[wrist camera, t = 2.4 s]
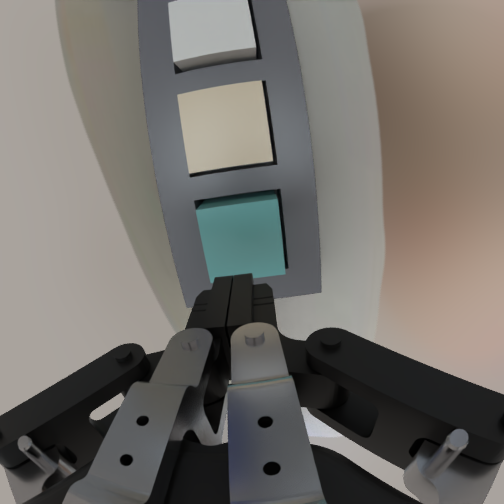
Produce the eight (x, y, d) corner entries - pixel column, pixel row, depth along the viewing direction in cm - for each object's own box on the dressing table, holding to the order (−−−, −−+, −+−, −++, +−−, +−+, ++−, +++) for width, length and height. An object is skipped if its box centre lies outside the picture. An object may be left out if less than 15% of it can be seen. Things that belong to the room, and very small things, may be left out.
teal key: (205, 199, 19) (195, 210, 16) (273, 189, 19) (277, 198, 16) (216, 261, 21) (210, 283, 18) (280, 253, 21) (285, 274, 17)
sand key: (190, 103, 17) (177, 94, 13) (260, 92, 16) (261, 80, 13) (200, 168, 18) (189, 173, 15) (269, 158, 18) (273, 161, 15)
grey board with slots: (154, 16, 15) (137, -3, 11) (274, -4, 15) (278, -29, 11) (196, 283, 24) (186, 307, 20) (311, 269, 23) (321, 292, 20)
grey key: (180, 22, 14) (168, 2, 11) (246, 10, 14) (245, -12, 11) (186, 75, 16) (173, 62, 13) (255, 64, 16) (256, 47, 12)
